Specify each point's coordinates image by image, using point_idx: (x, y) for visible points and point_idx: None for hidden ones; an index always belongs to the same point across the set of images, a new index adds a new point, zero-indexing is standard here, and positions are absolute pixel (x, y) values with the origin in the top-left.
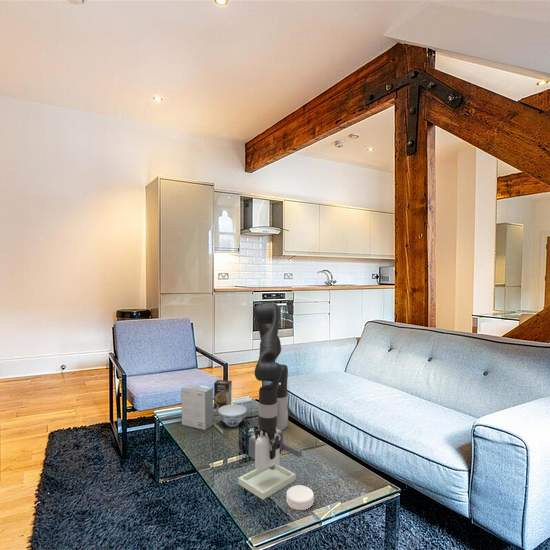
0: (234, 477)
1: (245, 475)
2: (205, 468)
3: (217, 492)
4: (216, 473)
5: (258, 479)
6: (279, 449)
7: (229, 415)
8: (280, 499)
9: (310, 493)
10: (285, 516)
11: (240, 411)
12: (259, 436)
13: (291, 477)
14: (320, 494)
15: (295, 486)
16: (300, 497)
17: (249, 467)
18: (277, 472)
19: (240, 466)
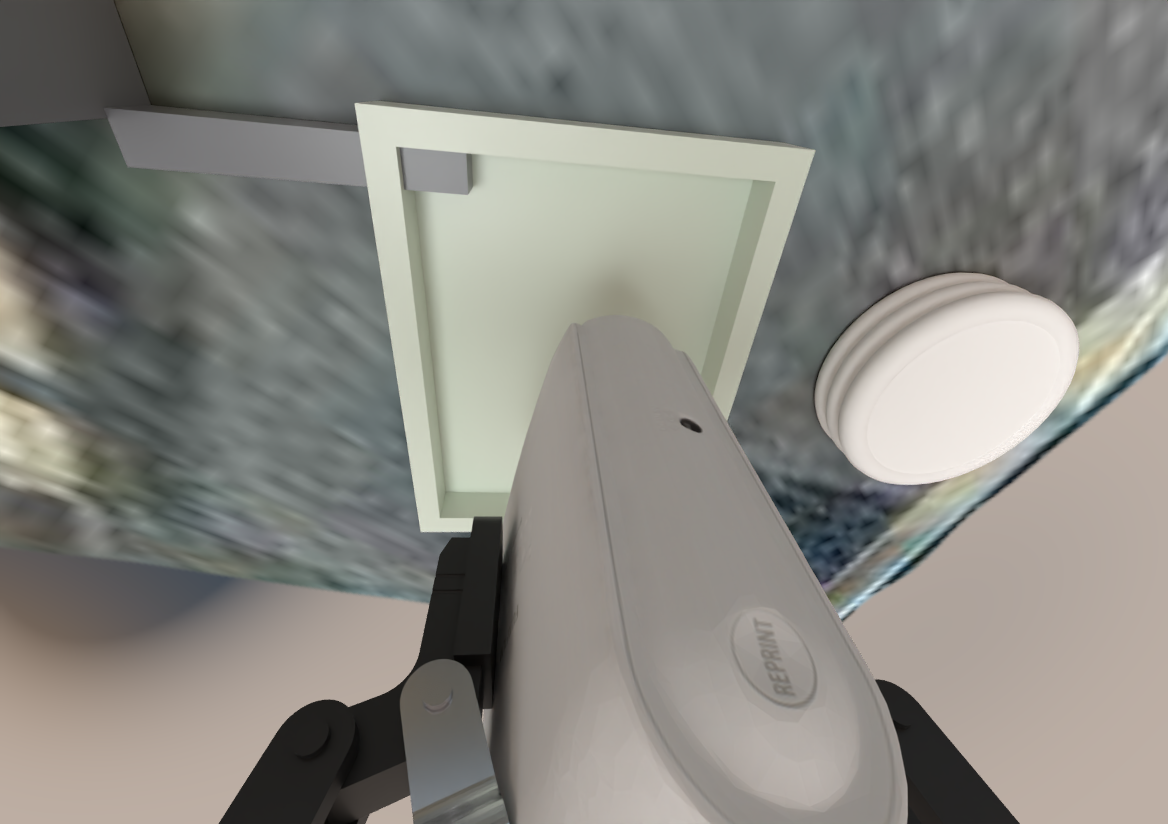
0: (335, 469)
1: (430, 486)
2: (81, 528)
3: (422, 596)
4: (202, 515)
5: (505, 397)
6: (761, 483)
7: None
8: (775, 434)
9: (1052, 358)
10: (862, 507)
11: None
12: (267, 808)
13: (785, 231)
14: (1079, 183)
15: (902, 370)
16: (972, 440)
17: (252, 294)
18: (556, 188)
19: (184, 340)
